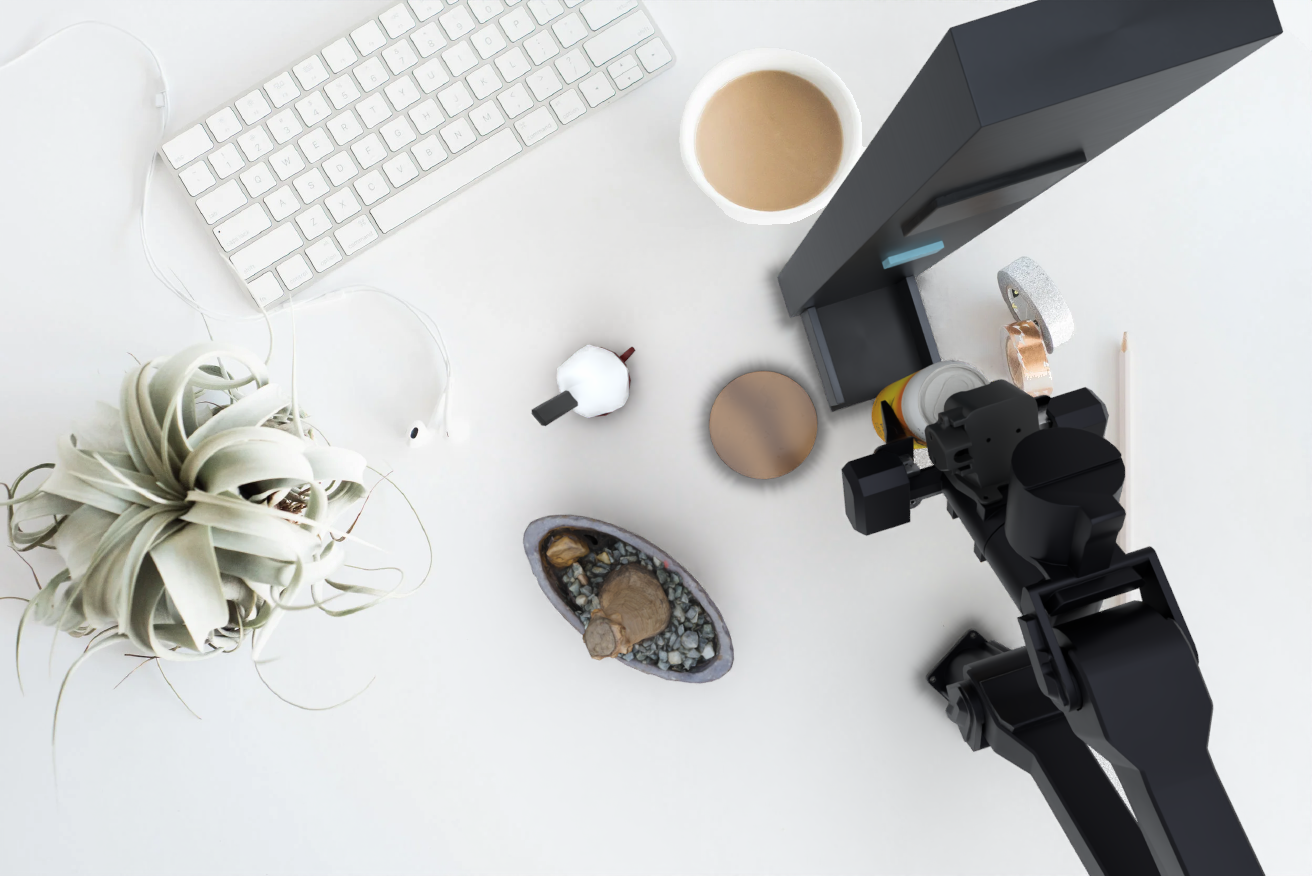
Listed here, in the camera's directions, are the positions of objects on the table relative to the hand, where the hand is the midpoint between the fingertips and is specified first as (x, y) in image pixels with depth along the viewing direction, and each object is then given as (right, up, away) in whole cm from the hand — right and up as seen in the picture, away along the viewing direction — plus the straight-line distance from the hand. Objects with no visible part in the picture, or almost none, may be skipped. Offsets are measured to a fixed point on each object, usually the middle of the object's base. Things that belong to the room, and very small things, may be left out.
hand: (921, 392), depth 66 cm
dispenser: (-2, +7, +11) cm, 13 cm away
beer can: (+1, -2, +7) cm, 8 cm away
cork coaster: (-11, -2, +11) cm, 16 cm away
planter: (-23, -17, +11) cm, 31 cm away
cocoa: (-27, +1, +11) cm, 29 cm away
